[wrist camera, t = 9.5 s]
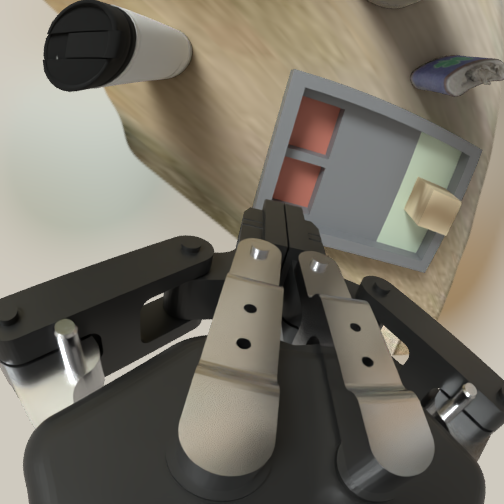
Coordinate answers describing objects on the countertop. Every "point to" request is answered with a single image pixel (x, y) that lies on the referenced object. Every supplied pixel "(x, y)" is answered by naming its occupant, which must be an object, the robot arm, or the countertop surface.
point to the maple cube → (432, 206)
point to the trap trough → (360, 168)
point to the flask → (457, 74)
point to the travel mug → (111, 47)
